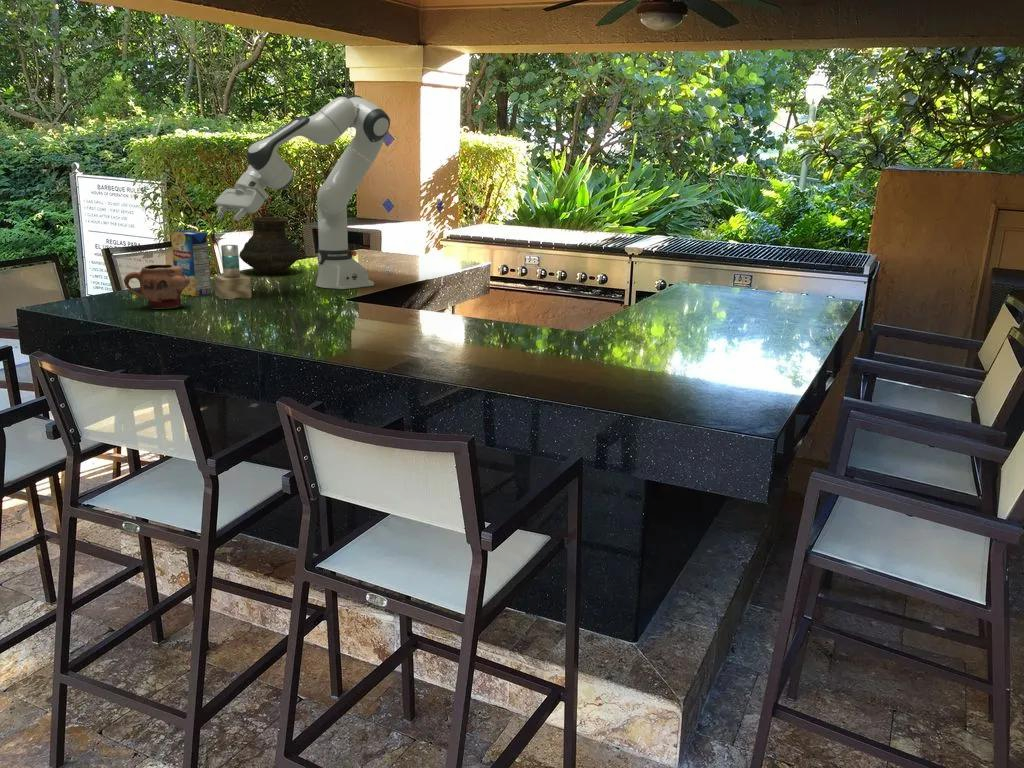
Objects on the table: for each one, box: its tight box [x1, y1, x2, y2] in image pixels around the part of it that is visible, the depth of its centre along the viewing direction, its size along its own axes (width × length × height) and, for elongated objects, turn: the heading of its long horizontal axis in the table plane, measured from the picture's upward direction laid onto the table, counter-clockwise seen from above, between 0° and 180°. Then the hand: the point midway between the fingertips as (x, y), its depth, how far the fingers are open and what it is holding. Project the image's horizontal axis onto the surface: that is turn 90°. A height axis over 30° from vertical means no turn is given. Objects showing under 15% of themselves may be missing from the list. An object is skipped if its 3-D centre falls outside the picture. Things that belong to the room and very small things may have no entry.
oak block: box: [213, 273, 252, 301], centre depth 304 cm, size 10×10×7 cm
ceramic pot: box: [238, 216, 301, 275], centre depth 355 cm, size 24×24×22 cm
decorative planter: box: [123, 264, 190, 310], centre depth 281 cm, size 20×12×14 cm, turn 117°
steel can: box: [220, 244, 241, 278], centre depth 302 cm, size 6×6×11 cm
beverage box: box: [170, 229, 212, 297], centre depth 305 cm, size 7×11×22 cm, turn 59°
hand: (226, 218), depth 297 cm, fingers open, 8 cm apart
